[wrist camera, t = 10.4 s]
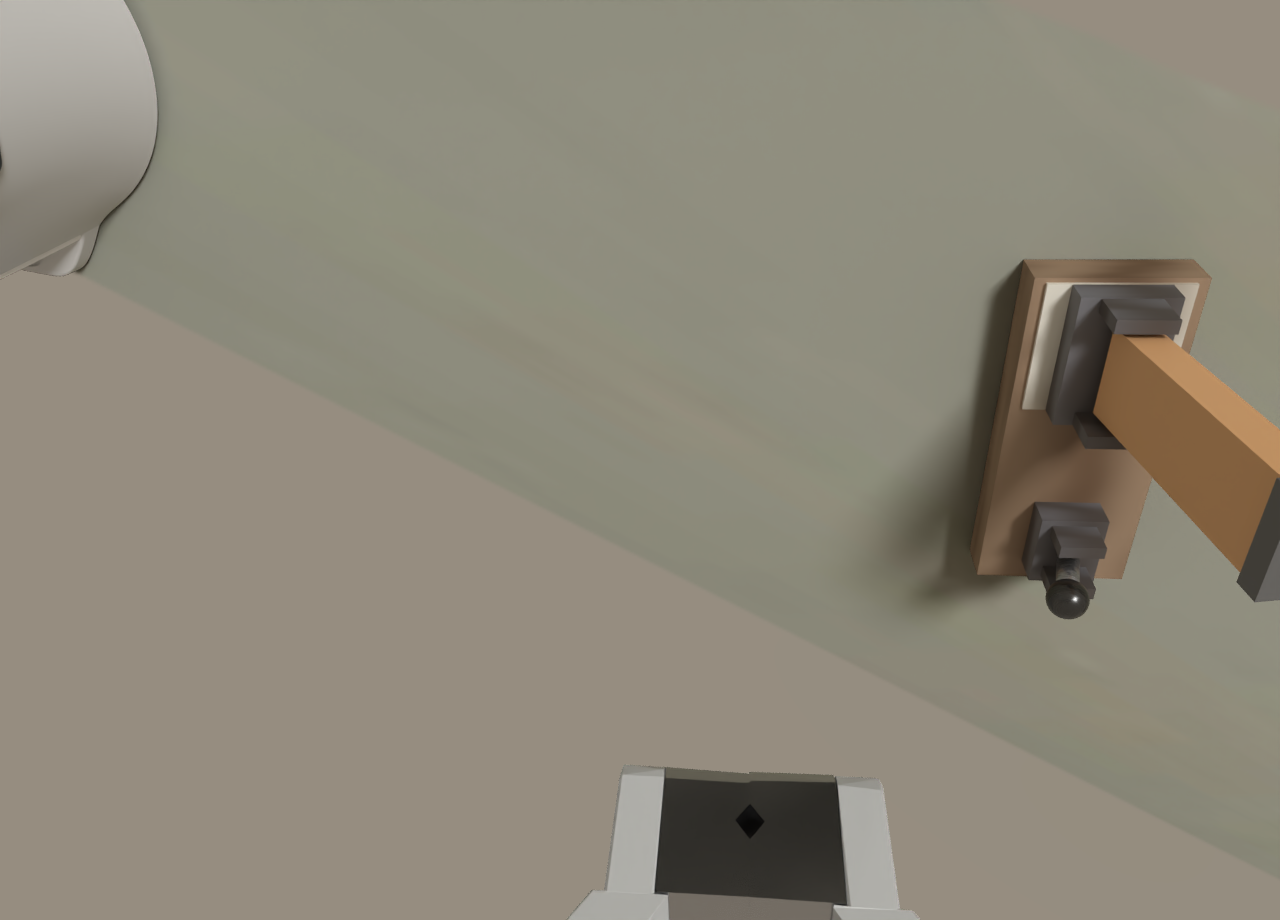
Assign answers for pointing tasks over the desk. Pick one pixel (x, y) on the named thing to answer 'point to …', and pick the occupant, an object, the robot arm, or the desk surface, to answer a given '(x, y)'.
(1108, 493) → the switch panel
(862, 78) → the desk surface
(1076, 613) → the toggle lever
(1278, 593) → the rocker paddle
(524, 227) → the desk surface
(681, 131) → the desk surface
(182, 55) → the desk surface
